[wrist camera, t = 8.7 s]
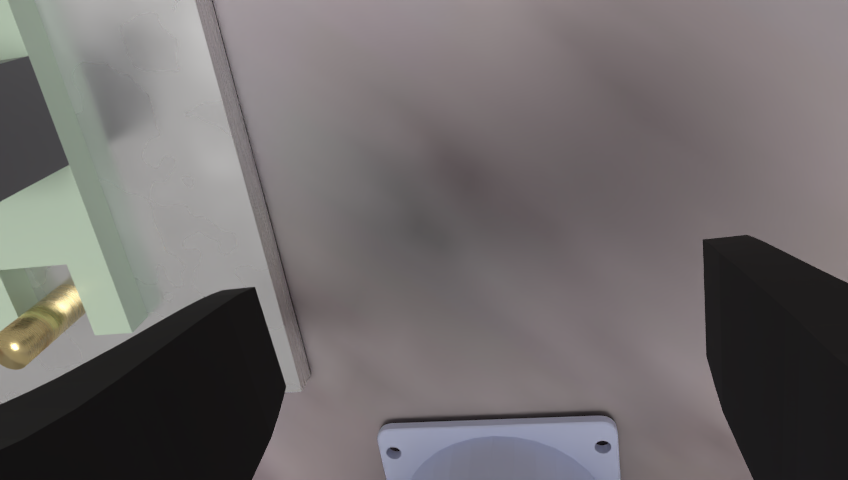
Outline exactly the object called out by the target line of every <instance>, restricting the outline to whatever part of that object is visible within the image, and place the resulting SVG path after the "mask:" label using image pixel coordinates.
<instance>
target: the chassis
mask: <svg viewBox="0 0 848 480" xmlns="http://www.w3.org/2000/svg"><path fill="white" fill-rule="evenodd" d="M34 1H35V3H36V6H37V9H38V12H39V15H40V17H41V20H42V23H43V26H44V28H45V31H46V34H47V37H48V40H49V42H50V45H51V48H52V51H53V53H54V56H55V59H56V62H57V65H58V67H59V70H60V73H61V76H62V78H63V81H64V84H65V87H66V90H67V92H68V95H69V98H70V101H71V103H72V106H73V109H74V112H75V114H76V117H77V120H78V123H79V126H80V128H81V131H82V134H83V137H84V139H85V142H86V145H87V148H88V151H89V153H90V156H91V159H92V162H93V164H94V167H95V170H96V173H97V176H98V178H99V181H100V184H101V187H102V189H103V192H104V195H105V198H106V201H107V203H108V206H109V209H110V212H111V214H112V217H113V220H114V223H115V226H116V228H117V231H118V234H119V237H120V239H121V242H122V245H123V248H124V250H125V253H126V256H127V259H128V262H129V264H130V267H131V270H132V273H133V275H134V278H135V281H136V284H137V287H138V289H139V292H140V295H141V298H142V300H143V303H144V306H145V309H146V312H147V314H148V317H147V318H146V319H145V320H144V321H143V322H142V323H141V324H140V325H139V327H138V328H137V329H136V330H135V331H134V332H133V333H124V334H109V335H95V334H94V332H93V329H92V327H91V324H90V322H89V319H88V317H87V314H86V312H85V309H84V307H83V304H82V302H81V299H80V297H79V294H78V292H77V289H76V287H75V284H74V282H73V279H72V277H71V274H70V272H69V269H68V267H67V264H64V265H53V266H41V267H30V268H24V269H25V272H26V274H27V276H28V279H29V281H30V283H31V286H32V288H33V290H34V293H35V295H36V297H37V300H38V302H37V303H36V304H35V305H34V306H32V307H31V308H30V309H28V310H27V311H26V312H25V313H23V314H22V315H21V316H20V317H18V318H17V319H16V320H14V321H13V322H12V323H11V324H9V325H8V326H7V327H5V328H4V329H3V330H2V331H0V404H2V403H5V402H7V401H9V400H11V399H13V398H16V397H18V396H20V395H22V394H25V393H27V392H29V391H31V390H33V389H35V388H37V387H39V386H41V385H43V384H46V383H48V382H50V381H52V380H54V379H56V378H58V377H60V376H62V375H63V374H65V373H67V372H69V371H71V370H73V369H75V368H76V367H78V366H80V365H82V364H84V363H86V362H88V361H89V360H91V359H93V358H95V357H97V356H99V355H101V354H102V353H104V352H106V351H108V350H110V349H112V348H114V347H115V346H117V345H119V344H121V343H123V342H124V341H126V340H128V339H130V338H131V337H133V336H135V335H137V334H138V333H140V332H142V331H143V330H145V329H147V328H149V327H150V326H152V325H154V324H156V323H157V322H159V321H161V320H163V319H165V318H166V317H168V316H170V315H172V314H173V313H175V312H177V311H179V310H181V309H182V308H184V307H186V306H188V305H190V304H192V303H194V302H196V301H198V300H200V299H202V298H204V297H206V296H208V295H211V294H213V293H216V292H219V291H221V290H228V289H238V288H247V287H255V289H256V292H257V295H258V298H259V301H260V305H261V308H262V311H263V314H264V317H265V321H266V324H267V327H268V330H269V333H270V336H271V340H272V343H273V346H274V349H275V352H276V355H277V359H278V362H279V365H280V368H281V371H282V375H283V378H284V381H285V384H286V390H285V393H291V392H302V391H303V389H304V387H305V385H306V383H307V381H308V379H309V377H310V375H311V373H310V369H309V366H308V362H307V358H306V354H305V351H304V347H303V343H302V339H301V335H300V332H299V328H298V324H297V320H296V317H295V313H294V309H293V305H292V301H291V298H290V294H289V290H288V286H287V283H286V279H285V275H284V271H283V267H282V264H281V260H280V256H279V252H278V249H277V245H276V241H275V237H274V233H273V230H272V226H271V222H270V218H269V215H268V211H267V207H266V203H265V199H264V196H263V192H262V188H261V184H260V181H259V177H258V173H257V169H256V165H255V162H254V158H253V154H252V150H251V147H250V143H249V139H248V135H247V131H246V128H245V124H244V120H243V116H242V113H241V109H240V105H239V101H238V97H237V94H236V90H235V86H234V82H233V79H232V75H231V71H230V67H229V63H228V60H227V56H226V52H225V48H224V45H223V41H222V37H221V33H220V29H219V26H218V22H217V18H216V14H215V11H214V7H213V3H212V0H34Z"/></svg>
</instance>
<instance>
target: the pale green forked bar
mask: <svg viewBox="0 0 848 480" xmlns="http://www.w3.org/2000/svg"><path fill="white" fill-rule="evenodd" d="M64 264H67V267H68V269H69V272H70V274H71V277H72V279H73V282H74V284H75V287H76V289H77V292H78V294H79V297H80V299H81V302H82V304H83V307H84V309H85V312H86V314H87V317H88V319H89V322H90V324H91V327H92V329H93V332H94V334H95V335H109V334H124V333H133V332H134V331H135V330H136V329H137V328H138V327H139V325H140V324H141V323H142V322H143V321H144V320H145V319H146V318H147V317H148V314H147V312H146V309H145V306H144V303H143V300H142V298H141V295H140V292H139V289H138V287H137V284H136V281H135V278H134V275H133V273H132V270H131V267H130V264H129V262H128V259H127V256H126V253H125V250H124V248H123V245H122V242H121V239H120V237H119V234H118V231H117V228H116V226H115V223H114V220H113V217H112V214H111V212H110V209H109V206H108V203H107V201H106V198H105V195H104V192H103V189H102V187H101V184H100V181H99V178H98V176H97V173H96V170H95V167H94V164H93V162H92V159H91V156H90V153H89V151H88V148H87V145H86V142H85V139H84V137H83V134H82V131H81V128H80V126H79V123H78V120H77V117H76V114H75V112H74V109H73V106H72V103H71V101H70V98H69V95H68V92H67V90H66V87H65V84H64V81H63V78H62V76H61V73H60V70H59V67H58V65H57V62H56V59H55V56H54V53H53V51H52V48H51V45H50V42H49V40H48V37H47V34H46V31H45V28H44V26H43V23H42V20H41V17H40V15H39V12H38V9H37V6H36V3H35V1H34V0H0V331H2V330H3V329H4V328H5V327H7V326H8V325H9V324H11V323H12V322H13V321H14V320H16V319H17V318H18V317H20V316H21V315H22V314H23V313H25V312H26V311H27V310H28V309H30V308H31V307H32V306H34V305H35V304H36V303H37V302H38V300H37V297H36V295H35V293H34V290H33V288H32V286H31V283H30V281H29V279H28V276H27V274H26V272H25V269H24V268H30V267H41V266H53V265H64Z"/></svg>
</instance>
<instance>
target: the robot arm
mask: <svg viewBox="0 0 848 480" xmlns="http://www.w3.org/2000/svg"><path fill="white" fill-rule="evenodd" d="M703 258H704V290H705V323H706V355H707V359H708V363H709V366H710V370H711V373H712V377H713V380H714V384H715V387H716V391H717V394H718V397H719V401H720V404H721V407H722V410H723V413H724V415H725V417H726V420H727V422H728V424H729V426H730V429H731V431H732V433H733V435H734V438H735V440H736V442H737V444H738V446H739V449H740V451H741V453H742V455H743V458H744V460H745V462H746V464H747V466H748V468H749V471H750V473H751V475H752V477H753V479H754V480H848V283H847V282H844V281H842V280H840V279H838V278H836V277H834V276H832V275H830V274H828V273H825V272H823V271H821V270H819V269H817V268H815V267H813V266H811V265H809V264H807V263H805V262H803V261H801V260H799V259H797V258H795V257H793V256H791V255H789V254H787V253H785V252H783V251H781V250H779V249H777V248H775V247H773V246H771V245H769V244H767V243H765V242H763V241H761V240H758V239H756V238H754V237H751V236H748V235H743V236H733V237H724V238H714V239H705V240H703ZM285 390H286V384H285V381H284V378H283V375H282V371H281V368H280V365H279V362H278V359H277V355H276V352H275V349H274V346H273V343H272V340H271V336H270V333H269V330H268V327H267V324H266V321H265V317H264V314H263V311H262V308H261V305H260V301H259V298H258V295H257V292H256V289H255V287H247V288H238V289H228V290H221V291H219V292H216V293H213V294H211V295H208V296H206V297H204V298H202V299H200V300H198V301H196V302H194V303H192V304H190V305H188V306H186V307H184V308H182V309H181V310H179V311H177V312H175V313H173V314H172V315H170V316H168V317H166V318H165V319H163V320H161V321H159V322H157V323H156V324H154V325H152V326H150V327H149V328H147V329H145V330H143V331H142V332H140V333H138V334H137V335H135V336H133V337H131V338H130V339H128V340H126V341H124V342H123V343H121V344H119V345H117V346H115V347H114V348H112V349H110V350H108V351H106V352H104V353H102V354H101V355H99V356H97V357H95V358H93V359H91V360H89V361H88V362H86V363H84V364H82V365H80V366H78V367H76V368H75V369H73V370H71V371H69V372H67V373H65V374H63V375H62V376H60V377H58V378H56V379H54V380H52V381H50V382H48V383H46V384H43V385H41V386H39V387H37V388H35V389H33V390H31V391H29V392H27V393H25V394H22V395H20V396H18V397H16V398H13V399H11V400H9V401H7V402H5V403H2V404H0V480H252V478H253V476H254V474H255V471H256V469H257V467H258V465H259V463H260V461H261V459H262V457H263V454H264V452H265V450H266V448H267V446H268V443H269V441H270V439H271V437H272V433H273V430H274V427H275V424H276V421H277V418H278V415H279V411H280V408H281V404H282V401H283V397H284V393H285ZM377 441H378V446H379V450H380V454H381V459H382V463H383V468H384V472H385V476H386V480H621V478H620V461H619V444H618V431H617V426H616V423H615V422H614V421H613V420H612V419H611V418H609V417H607V416H573V417H546V418H519V419H492V420H465V421H438V422H411V423H389V424H385V425H384V426H382V427H381V429H380V430H379V433H378V437H377ZM599 441H607V442H608V444H606V445H598V444H596V443H597V442H599ZM391 447H395V448H398V449H399V450H400V451H393V450H391V449H390V448H391Z"/></svg>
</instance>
